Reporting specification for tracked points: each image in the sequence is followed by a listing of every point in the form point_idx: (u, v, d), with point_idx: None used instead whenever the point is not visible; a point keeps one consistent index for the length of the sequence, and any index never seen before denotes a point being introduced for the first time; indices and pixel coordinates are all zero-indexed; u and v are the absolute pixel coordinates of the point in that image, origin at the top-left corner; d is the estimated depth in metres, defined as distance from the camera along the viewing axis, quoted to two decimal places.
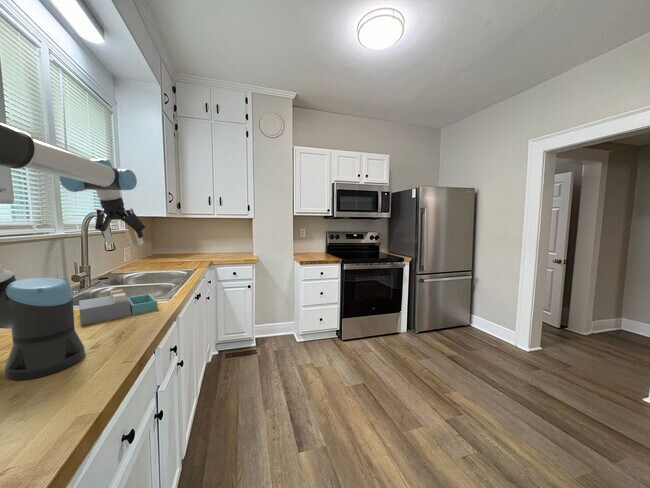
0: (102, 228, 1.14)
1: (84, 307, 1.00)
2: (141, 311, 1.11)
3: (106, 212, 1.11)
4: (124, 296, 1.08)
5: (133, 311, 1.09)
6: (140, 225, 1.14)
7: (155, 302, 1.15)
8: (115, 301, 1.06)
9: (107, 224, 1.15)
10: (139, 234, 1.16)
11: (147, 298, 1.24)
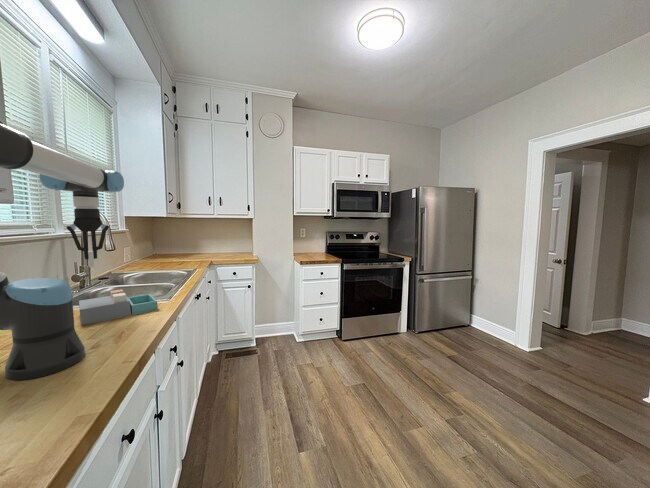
0: (86, 247, 1.04)
1: (84, 307, 1.00)
2: (141, 311, 1.11)
3: (78, 223, 1.02)
4: (124, 296, 1.08)
5: (133, 311, 1.09)
6: None
7: (155, 302, 1.15)
8: (115, 301, 1.06)
9: None
10: (95, 254, 1.07)
11: (147, 298, 1.24)
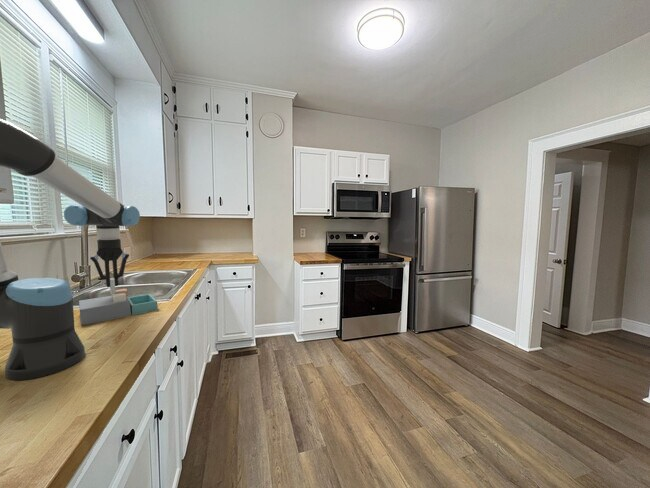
0: (108, 275, 1.10)
1: (84, 307, 1.00)
2: (141, 311, 1.11)
3: (101, 253, 1.08)
4: (124, 296, 1.08)
5: (133, 311, 1.09)
6: (123, 272, 1.14)
7: (155, 302, 1.15)
8: (115, 301, 1.06)
9: None
10: (116, 281, 1.13)
11: (147, 298, 1.24)
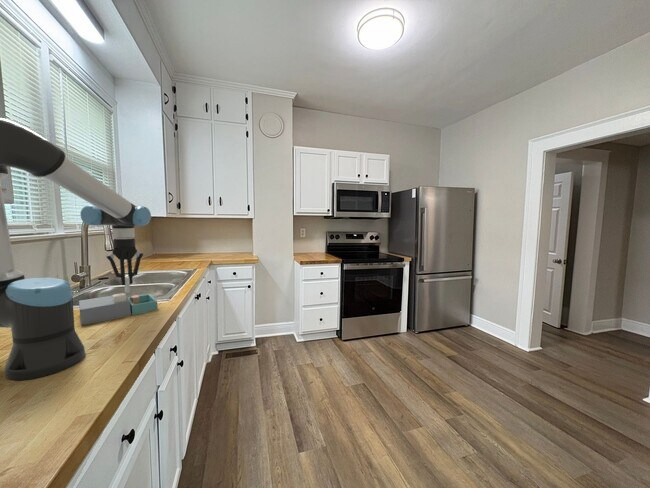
0: (123, 274, 1.13)
1: (84, 307, 1.00)
2: (141, 311, 1.11)
3: (117, 252, 1.11)
4: (124, 296, 1.08)
5: (133, 311, 1.09)
6: (137, 270, 1.17)
7: (155, 302, 1.15)
8: (115, 301, 1.06)
9: None
10: (131, 280, 1.16)
11: (147, 298, 1.24)
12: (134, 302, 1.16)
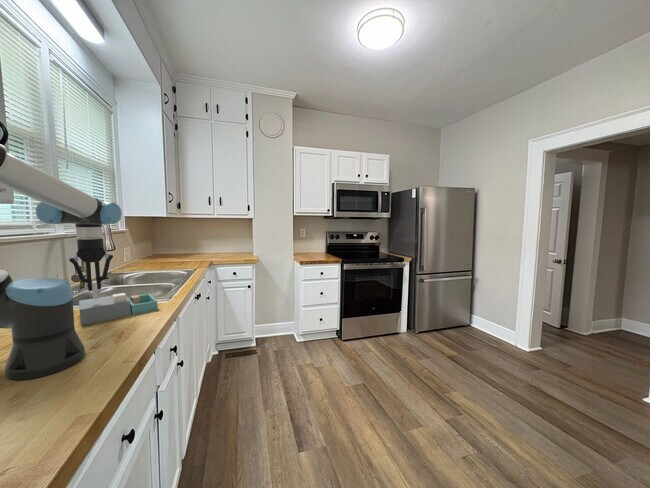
0: (89, 278, 1.01)
1: (84, 307, 1.00)
2: (141, 311, 1.11)
3: (82, 254, 0.99)
4: (124, 296, 1.08)
5: (133, 311, 1.09)
6: None
7: (155, 302, 1.15)
8: (115, 301, 1.06)
9: (90, 272, 1.01)
10: (99, 285, 1.03)
11: (147, 298, 1.24)
12: (134, 302, 1.16)
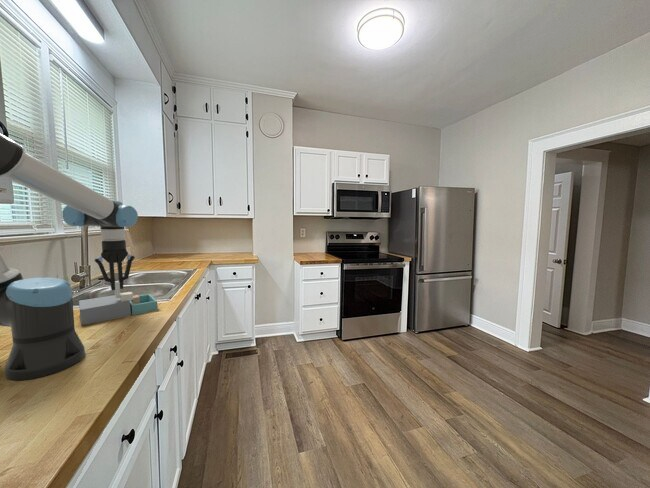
0: (113, 278, 1.06)
1: (84, 307, 1.00)
2: (141, 311, 1.11)
3: (106, 255, 1.04)
4: (131, 295, 1.10)
5: (133, 311, 1.09)
6: (128, 274, 1.10)
7: (155, 302, 1.15)
8: (122, 300, 1.08)
9: (113, 272, 1.06)
10: (121, 284, 1.08)
11: (147, 298, 1.24)
12: (134, 302, 1.16)
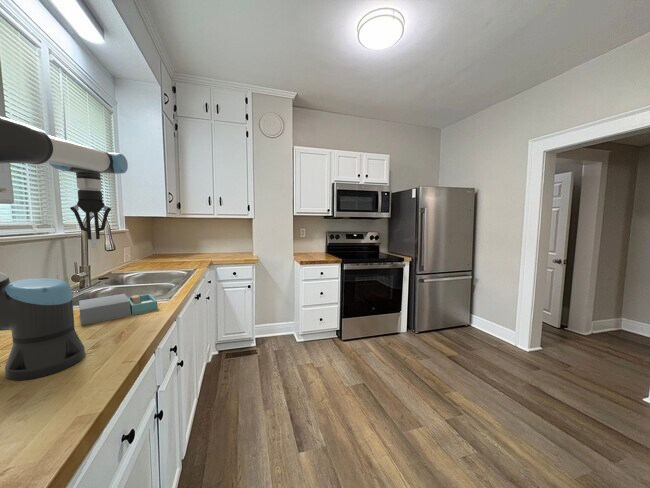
0: (89, 227, 1.09)
1: (84, 307, 1.00)
2: (141, 311, 1.11)
3: (82, 204, 1.07)
4: None
5: (133, 311, 1.09)
6: None
7: (155, 302, 1.15)
8: None
9: None
10: (98, 235, 1.11)
11: (147, 298, 1.24)
12: (134, 302, 1.16)
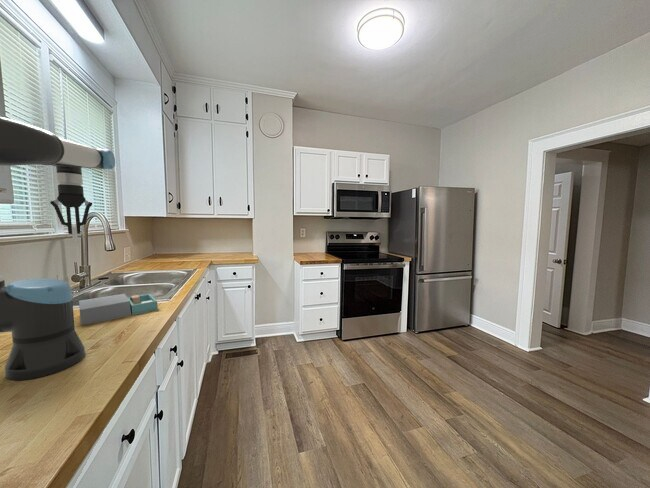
0: (69, 222, 1.09)
1: (84, 307, 1.00)
2: (141, 311, 1.11)
3: (62, 198, 1.07)
4: None
5: (133, 311, 1.09)
6: (86, 220, 1.13)
7: (155, 302, 1.15)
8: None
9: (70, 216, 1.10)
10: (79, 229, 1.11)
11: (147, 298, 1.24)
12: (134, 302, 1.16)
